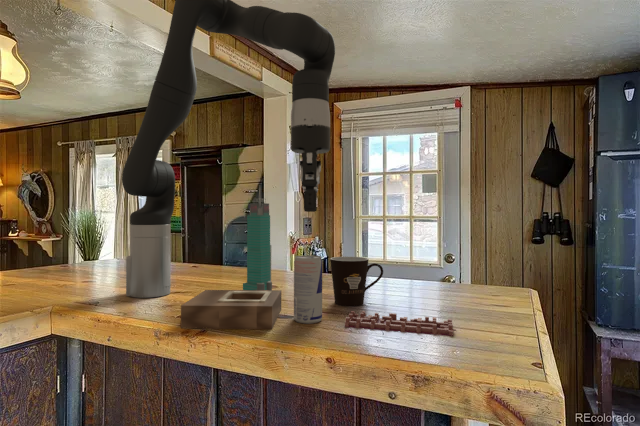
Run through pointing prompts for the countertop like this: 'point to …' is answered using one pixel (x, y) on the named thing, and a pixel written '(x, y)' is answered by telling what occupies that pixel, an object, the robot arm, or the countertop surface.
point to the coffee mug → (351, 279)
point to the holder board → (232, 309)
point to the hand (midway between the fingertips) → (310, 211)
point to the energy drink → (308, 289)
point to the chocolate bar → (399, 324)
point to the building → (258, 247)
